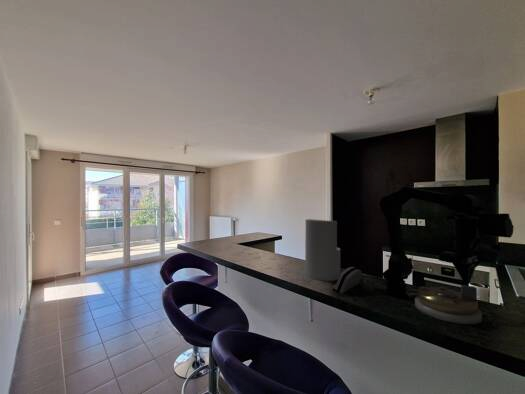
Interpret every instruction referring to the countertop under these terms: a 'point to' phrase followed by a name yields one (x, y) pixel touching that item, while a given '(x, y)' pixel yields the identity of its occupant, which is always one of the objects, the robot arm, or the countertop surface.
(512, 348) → the countertop surface
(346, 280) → the dark grey curved piece
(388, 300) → the countertop surface
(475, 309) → the shallow round tray
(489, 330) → the countertop surface
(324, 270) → the cylinder
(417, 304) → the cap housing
